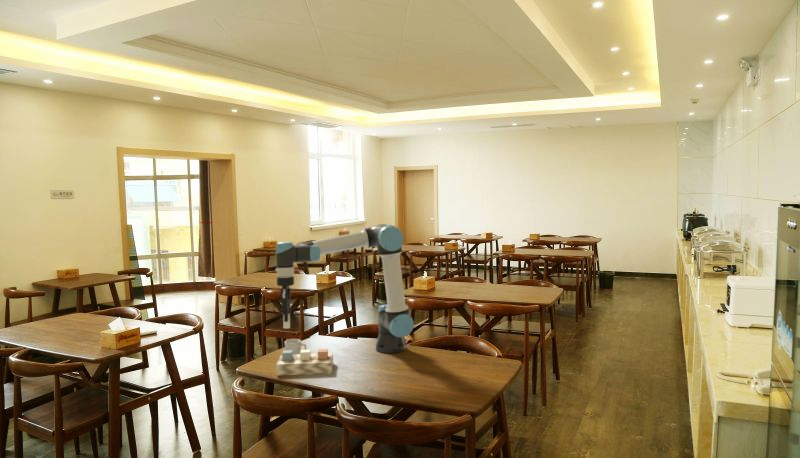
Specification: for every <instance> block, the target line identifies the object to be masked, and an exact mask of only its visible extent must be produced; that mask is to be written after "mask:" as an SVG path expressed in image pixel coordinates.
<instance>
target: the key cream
mask: <svg viewBox="0 0 800 458" xmlns="http://www.w3.org/2000/svg"><path fill="white" fill-rule="evenodd" d="M311 354H312V353H311V349H310V348H309V349H306V350H304V349H301V351H300V360H311Z"/></svg>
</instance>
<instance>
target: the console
mask: <svg viewBox="0 0 800 458" xmlns="http://www.w3.org/2000/svg"><path fill="white" fill-rule="evenodd" d="M275 366H276V367H275V369H276V371H275V372H276V376H277V377H278V376H294V375H295V376H297V375H299V376H300V375H303V376H305V375H325V374H326V375H328V374H332V373H333V366H334V353H333V352H328V359H327V360H318V353H311V360H300V354H293V361H282V354H280V356H279V358H278V360H277V362H276V365H275Z"/></svg>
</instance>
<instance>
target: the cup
mask: <svg viewBox="0 0 800 458" xmlns="http://www.w3.org/2000/svg"><path fill="white" fill-rule="evenodd" d="M302 346H303V347H304V349H303V350H307V344H305V343H303V342H302V340H301V339H299V338H290V339H286V340H285V341H284V350H293V354H300V351H301V350H302Z"/></svg>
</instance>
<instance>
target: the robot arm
mask: <svg viewBox="0 0 800 458" xmlns="http://www.w3.org/2000/svg"><path fill="white" fill-rule="evenodd" d="M403 244H404V233H403V232H402V230H400V229H399V227H396V226H395V225H391V224H386V223H385V224H383V223H381V224H377V225H374V226H370V227H367V228H363V229H362V230H361V231H358V232H357V231H356V232H353V233H347V234H346V233H345V234H342V235H341V234H340V235H337V236H332V237H327V238H320V239H317V240H312V241H307V242H298V243H297V244H296V245H294V243H293V242H292V241H281V242H277V243H276V246H275V261H276V262H275V263H276V264H275V265H276V268H275V272H276V276H277V278H276V285H277V286H278V287H281V289H280V301H281V315H282V322H283V323H282V324H283V325H282V326H283V329H291V316H290V315H291V313H292V311H291V291H292V290H291V289H292V288H290V286H293V285H294V284H295V277H294V276H295V267H294V266H295V265H294V264H295V263H315V262H319V261H320V259H321V256H324V255H328V254H329V255H330V254H333V253H338V252H345V251H348V250H349V251H350V250H353V249H358V248H363V247H364V248H366V249H368V248H377V255H378V256H379V257H381V258H380V259H381V262H382V264H381V265H382V271H383V280H384V287H385V288H384V289H385V294H386V295H385V296H386V303H387V304H381V305H379V306H378V311H377V313H378V336H377V340H376V343H375V350H376V351H377V352H378V353H383V354H396V353H400V352H403V351H405V350H406V343H405V341H404V338H405V337H407V336H409V335H410V334H411V333H412V331H413V329H414V320H413V318H412V316H411V315H410V307H409V306H408V304H406V301H405V292H404V283H403V272H402V266H401V257H400V255H401V254H402V253H403V249H402V248H403V247H402V246H403Z"/></svg>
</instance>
